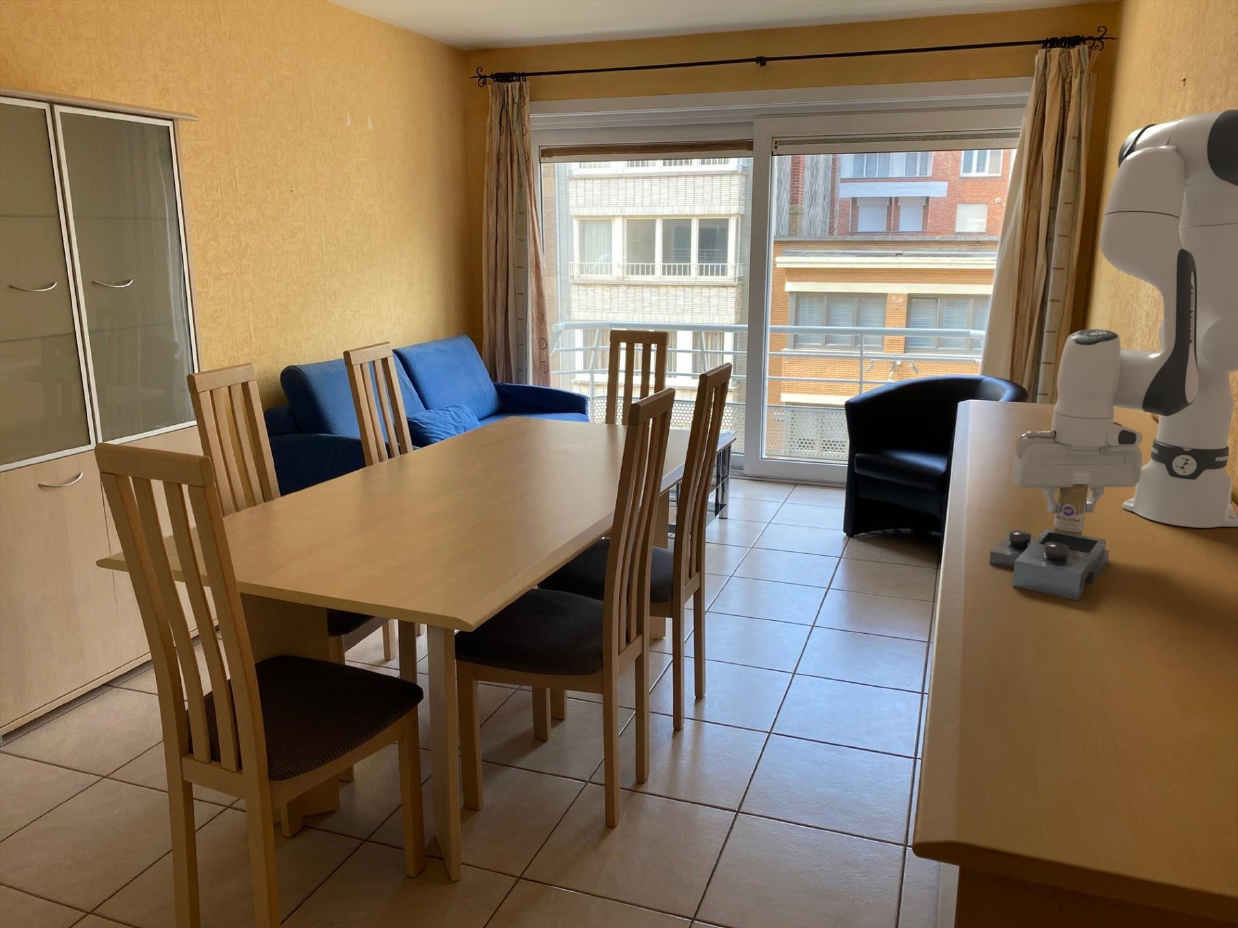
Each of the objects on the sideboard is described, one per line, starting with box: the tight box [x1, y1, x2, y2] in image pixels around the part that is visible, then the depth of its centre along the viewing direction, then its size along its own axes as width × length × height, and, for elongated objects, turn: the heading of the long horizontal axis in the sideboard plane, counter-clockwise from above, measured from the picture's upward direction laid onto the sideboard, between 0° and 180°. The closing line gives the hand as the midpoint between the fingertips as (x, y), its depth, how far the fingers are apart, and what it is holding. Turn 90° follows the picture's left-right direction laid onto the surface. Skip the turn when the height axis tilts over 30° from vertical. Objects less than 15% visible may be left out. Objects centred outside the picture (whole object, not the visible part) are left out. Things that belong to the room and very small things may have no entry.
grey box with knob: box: [1011, 528, 1107, 601], centre depth 140 cm, size 19×9×6 cm, turn 143°
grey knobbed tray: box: [988, 529, 1110, 585], centre depth 145 cm, size 12×15×4 cm
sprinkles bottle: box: [1053, 473, 1090, 535], centre depth 151 cm, size 5×5×13 cm
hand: (1070, 512), depth 151 cm, fingers closed on sprinkles bottle, 4 cm apart
